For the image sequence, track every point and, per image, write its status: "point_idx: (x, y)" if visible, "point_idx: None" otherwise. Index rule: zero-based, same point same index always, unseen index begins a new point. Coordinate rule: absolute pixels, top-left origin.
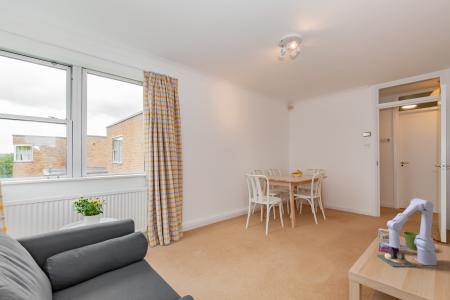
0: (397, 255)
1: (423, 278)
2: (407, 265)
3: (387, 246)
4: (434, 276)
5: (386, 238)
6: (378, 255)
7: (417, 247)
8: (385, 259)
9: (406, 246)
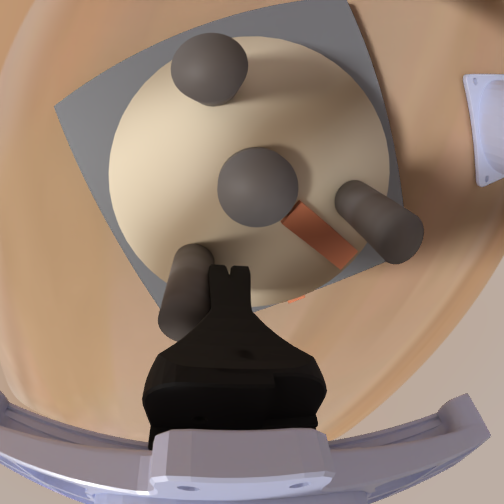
0: (318, 104)
1: (340, 382)
2: (333, 280)
3: (73, 438)
4: (423, 331)
5: None
6: (64, 127)
7: None
8: None
9: (474, 440)
